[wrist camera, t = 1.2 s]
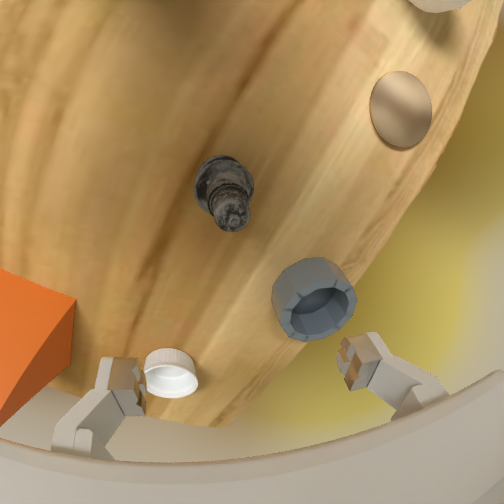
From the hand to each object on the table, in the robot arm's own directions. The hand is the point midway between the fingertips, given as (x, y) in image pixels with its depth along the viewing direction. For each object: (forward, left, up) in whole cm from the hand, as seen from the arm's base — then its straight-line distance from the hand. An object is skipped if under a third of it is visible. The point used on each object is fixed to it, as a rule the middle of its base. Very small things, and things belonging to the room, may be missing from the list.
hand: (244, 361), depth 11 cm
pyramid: (+19, -30, -24) cm, 43 cm away
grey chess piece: (0, +1, -24) cm, 24 cm away
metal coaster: (-10, +23, -24) cm, 35 cm away
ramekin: (+29, -8, -24) cm, 39 cm away
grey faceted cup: (+16, +13, -24) cm, 32 cm away
